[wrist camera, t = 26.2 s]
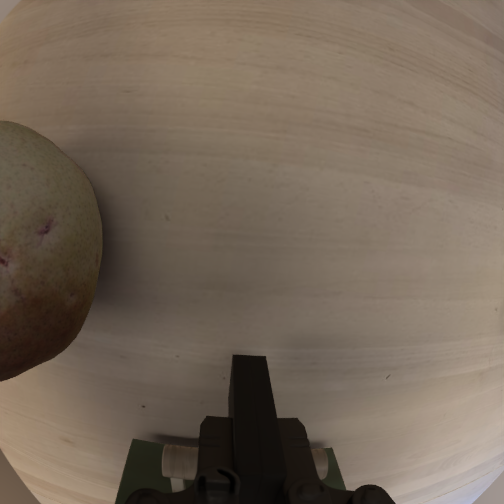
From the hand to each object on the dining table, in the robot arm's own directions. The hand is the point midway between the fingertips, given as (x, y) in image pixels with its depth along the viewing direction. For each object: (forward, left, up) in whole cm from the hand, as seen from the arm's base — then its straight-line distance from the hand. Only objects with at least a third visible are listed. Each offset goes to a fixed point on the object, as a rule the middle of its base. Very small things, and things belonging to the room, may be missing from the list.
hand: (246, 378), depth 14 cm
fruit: (-6, -11, -2) cm, 13 cm away
